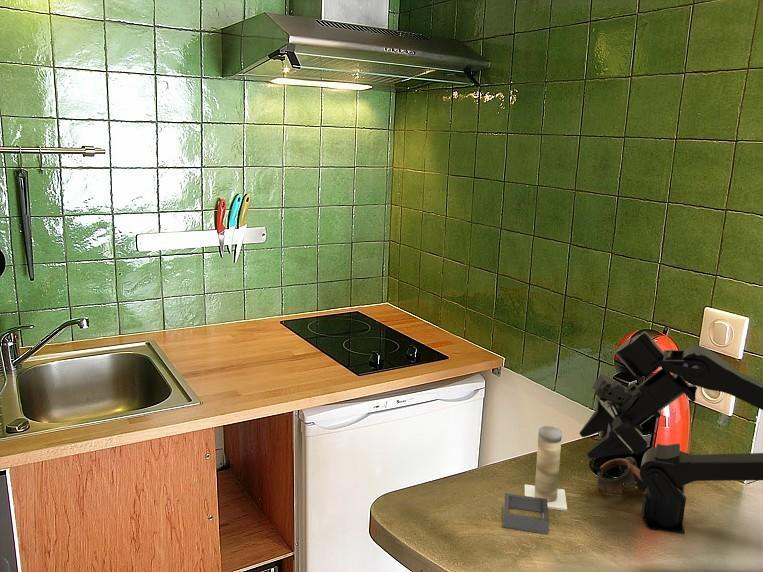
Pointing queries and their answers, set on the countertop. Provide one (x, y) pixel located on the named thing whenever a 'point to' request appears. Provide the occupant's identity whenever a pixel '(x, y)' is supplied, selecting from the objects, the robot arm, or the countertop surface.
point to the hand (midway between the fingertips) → (584, 445)
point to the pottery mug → (628, 476)
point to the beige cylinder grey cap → (548, 463)
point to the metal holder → (526, 521)
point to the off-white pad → (557, 504)
